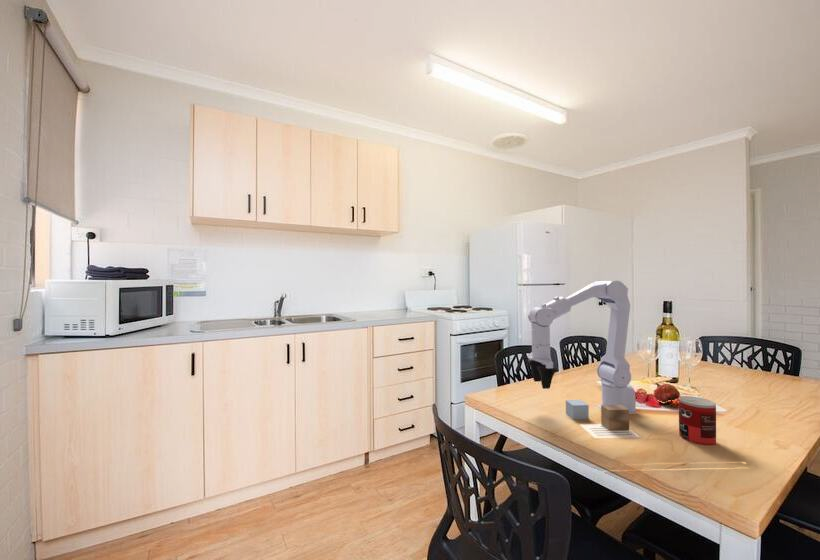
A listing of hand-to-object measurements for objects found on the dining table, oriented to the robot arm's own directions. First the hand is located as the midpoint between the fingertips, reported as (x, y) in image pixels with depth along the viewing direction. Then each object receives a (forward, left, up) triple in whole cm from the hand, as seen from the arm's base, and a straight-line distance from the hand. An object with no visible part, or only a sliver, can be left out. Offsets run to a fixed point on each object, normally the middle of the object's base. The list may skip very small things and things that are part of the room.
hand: (541, 384), depth 116 cm
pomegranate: (-47, -7, -10) cm, 49 cm away
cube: (-10, +3, -10) cm, 15 cm away
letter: (-14, +14, -10) cm, 22 cm away
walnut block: (-17, +12, -9) cm, 23 cm away
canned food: (-35, +20, -10) cm, 42 cm away
